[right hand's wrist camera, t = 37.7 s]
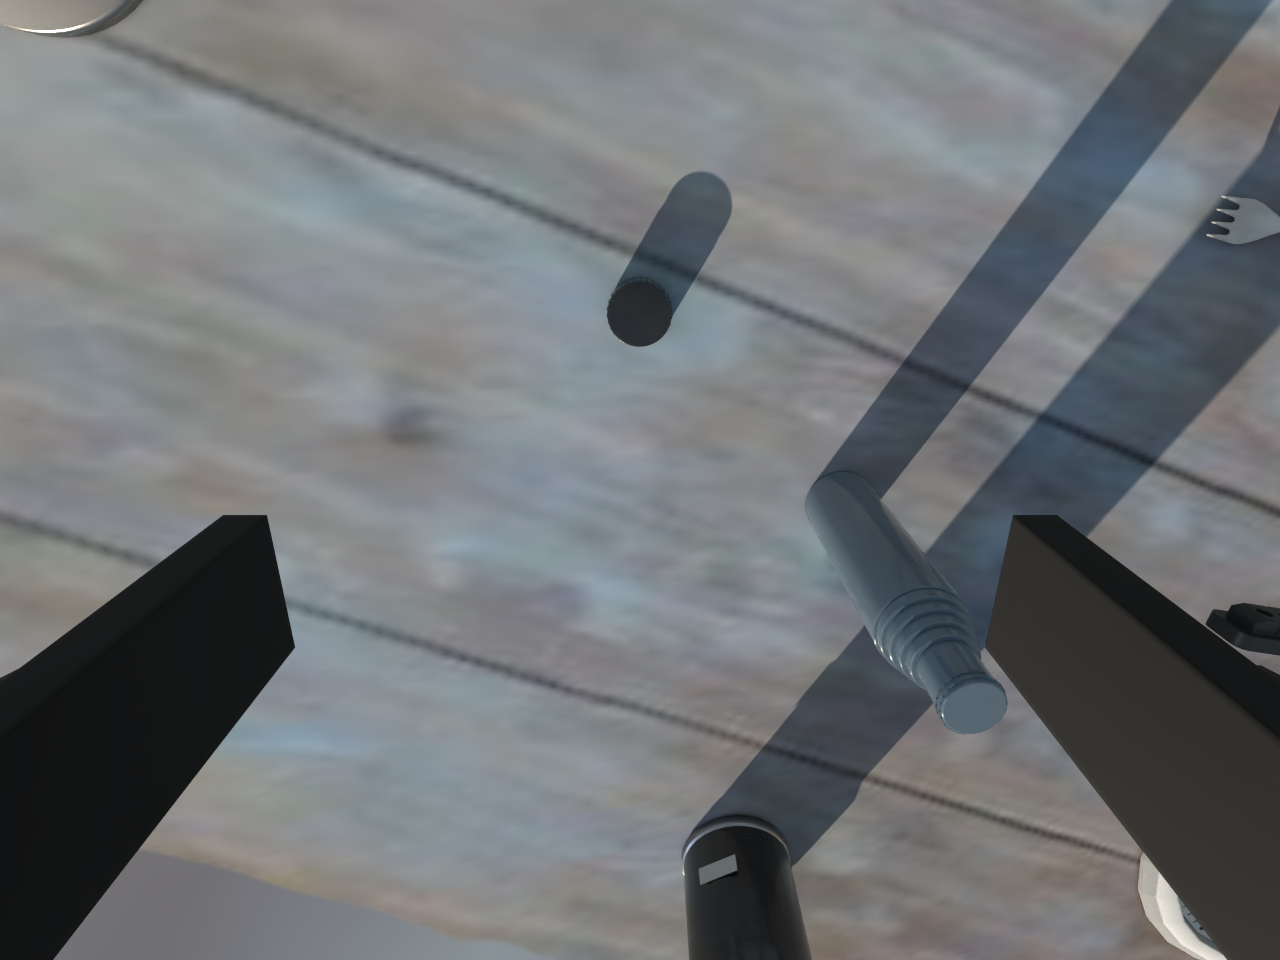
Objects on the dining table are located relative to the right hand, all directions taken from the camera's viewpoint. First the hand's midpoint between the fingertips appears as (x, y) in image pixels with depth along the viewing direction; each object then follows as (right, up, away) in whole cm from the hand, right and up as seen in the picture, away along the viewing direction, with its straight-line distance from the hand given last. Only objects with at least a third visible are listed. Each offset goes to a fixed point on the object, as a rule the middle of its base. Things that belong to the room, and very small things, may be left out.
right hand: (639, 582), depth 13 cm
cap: (0, +12, +31) cm, 33 cm away
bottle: (+14, 0, +37) cm, 40 cm away
